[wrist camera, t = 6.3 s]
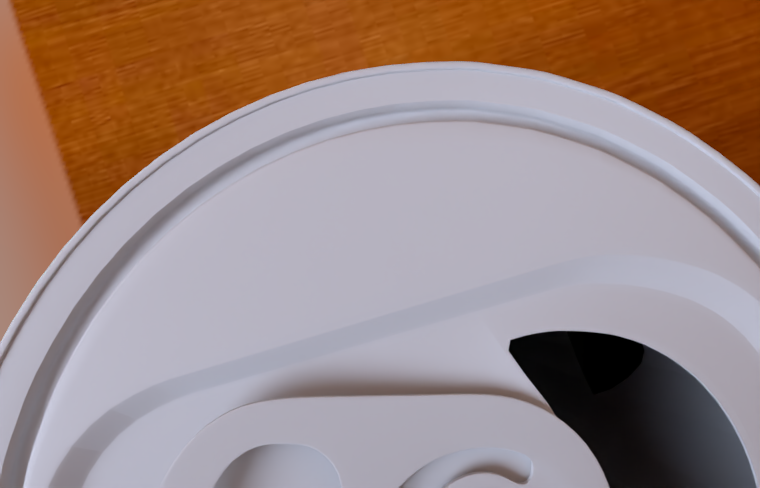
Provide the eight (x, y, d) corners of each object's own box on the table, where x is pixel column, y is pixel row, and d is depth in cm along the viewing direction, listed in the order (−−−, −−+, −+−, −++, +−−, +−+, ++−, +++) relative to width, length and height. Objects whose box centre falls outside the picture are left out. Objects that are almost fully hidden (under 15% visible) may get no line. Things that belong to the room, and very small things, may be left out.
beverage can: (474, 453, 15) (1071, 1168, 3) (246, 455, 14) (-251, 1350, 2) (473, 232, 15) (964, 20, 3) (255, 226, 15) (-103, -47, 3)
